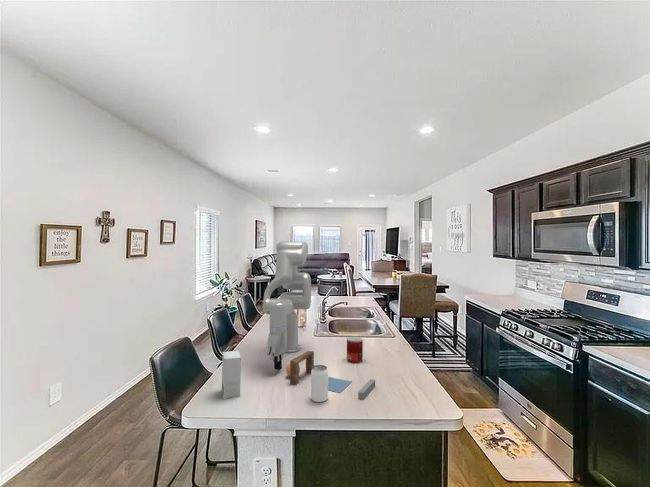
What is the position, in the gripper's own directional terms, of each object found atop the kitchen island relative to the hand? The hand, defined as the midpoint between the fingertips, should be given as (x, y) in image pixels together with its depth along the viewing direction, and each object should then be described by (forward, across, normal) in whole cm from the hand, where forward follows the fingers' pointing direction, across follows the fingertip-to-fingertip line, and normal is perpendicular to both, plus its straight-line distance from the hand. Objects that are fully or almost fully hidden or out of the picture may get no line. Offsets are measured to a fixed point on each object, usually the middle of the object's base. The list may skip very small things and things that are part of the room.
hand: (277, 369), depth 156 cm
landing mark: (+2, 0, +28) cm, 28 cm away
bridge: (+2, 0, +13) cm, 13 cm away
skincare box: (+2, +26, -4) cm, 26 cm away
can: (+2, +14, +29) cm, 32 cm away
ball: (-2, +1, +9) cm, 9 cm away
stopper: (+2, 0, +43) cm, 43 cm away
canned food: (+2, -31, +25) cm, 40 cm away
